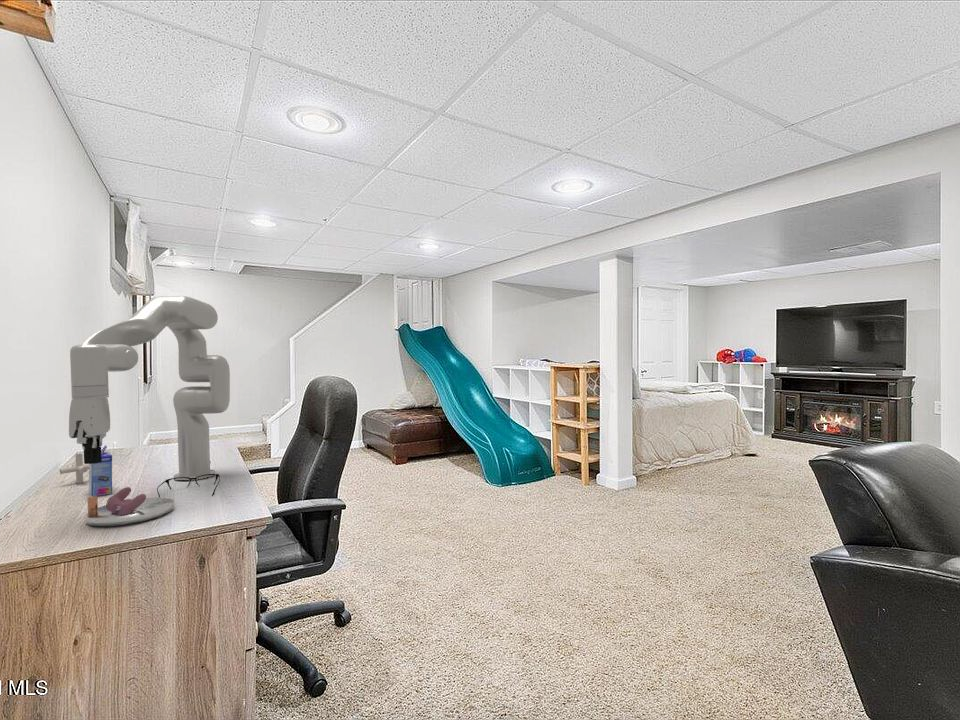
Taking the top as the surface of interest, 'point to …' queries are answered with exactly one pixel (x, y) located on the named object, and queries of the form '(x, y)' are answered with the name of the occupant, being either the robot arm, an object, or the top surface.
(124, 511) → the video game controller
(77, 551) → the top surface
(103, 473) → the ink cartridge box
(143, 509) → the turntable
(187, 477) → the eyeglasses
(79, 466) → the pipe connector
